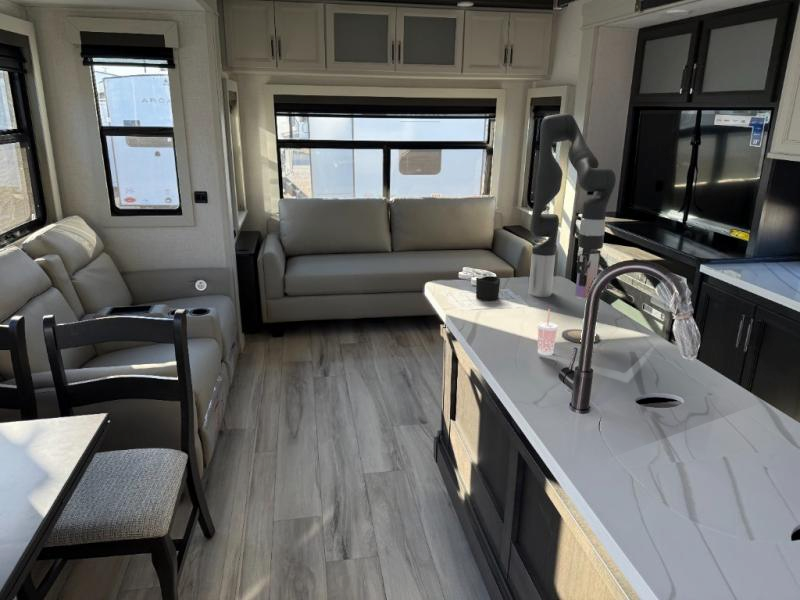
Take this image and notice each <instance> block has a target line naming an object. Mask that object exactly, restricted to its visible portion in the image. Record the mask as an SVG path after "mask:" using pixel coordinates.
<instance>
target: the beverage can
mask: <svg viewBox="0 0 800 600" xmlns="http://www.w3.org/2000/svg"><path fill="white" fill-rule="evenodd" d="M582 252H583V250H582V251H580V253H579V255H582ZM598 254H599V253H598V252H596V253H593V254H590V257H589V261H588V262H587V261H586V265H588V264H589V262H590V261H591V268H590V269H588V274H587V282H586V286H579V277H580V274H579V273H576V274H577V275H576V284H575V295H574V296H575V297H576V298H577V299H579V300H585V301H587V300H586V299H587V292H588V290H589V287H590V285H591V283H592V281H593V280H594V278H595V277H596V276H598V269H599V265H598V261H599V262H600V258H599V255H598ZM582 270H583V268H582Z"/></svg>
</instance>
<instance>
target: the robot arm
mask: <svg viewBox="0 0 800 600" xmlns="http://www.w3.org/2000/svg"><path fill="white" fill-rule="evenodd" d="M539 134H540V135H539V137H540V138H539V157H538V158H539V159H538V167H537V172H536V180H535V190H534V203H533V207H532V212H531V213H532V214H531V219H530V224H529V225H530V226H529V231H530V232H529V233H530V234H531V236H533V237H539V238H547V239H546V240H545V241H544V242H541V243H538V244H535V245H533V246H532V248H531V249H532V250H531V257H530V258H531V259H530V271H529V272H530V273H529V284H528V294H529V295H531V296H532V297H538V298H547V297H551V296H552V293H553V292H552V291H553V282H554V273H555V272H554V271H555V270H554V269H555V262H556V261H555V260H556V250H557V241H558V240H557V239H558V232H559V226H560V225H559V224H560V218H559V215H557V214H555V213H543V212H544V210H545V208H546V207H547V206H548V204H549V203H550V202H551V201H553V200H554V198H556V196H557V195H558V194H559V193H560V191H561V187H562V183H563V175H564V174H563V170H562V167H561V166H560V164H559V162H558V161H557V159H556V158H555V156H554V154H553V144H554V143H560V142H565V141H569V142H570V147H569V150H568V160H569V163H570V164H571V165H572V167H573V168H574V170H575V171H576V172H577V178H578V182H579V183H578V184H579V186H580V187H581V189H582V190H583V191H585V192H591V193H592V192H596V193H595V195H594V197H591V198H588V199H585V200H584V202H583V204H582V212H581V213H582V214H581V220H580V224H579V231H578V232H579V233H578V241H577V242H578V244H577V246H578V247H579V248H581V249H582V251H583V252H582V255H580V254H578V255H577V262H576V274H578V273H579V274H580V277H579V286H586V282H587V274H588V269H590V268H591V261H590V262H589V264H588V265H586V261H587V262H588V261H589V257H590V254H593V253H596V252H598V253H599V254H598V255H599V259H601V258H600V257H601V249H602V248H604V247H603V246H604V238H605V231H606V230H605V229H606V214H607V208H608V207H607V206H608V204H609V201H610V200H611V199H610V198H611V196H612V194H613V191H614V189H615V186H616V183H617V182H616V181H617V179H616V173H615V171H614V170H613V169H612V168H608V167H605V168H603V167H602V168H600V167H599V165H600V164H599V161H598V158H597V157H596V156H595V154H594V152H592V150H591V149H590V148H589V146H588V145H587V143H586V140H585V138H584V137H583V134H582V132H581V129H580V128H579V125H578V123H577V120H576V119H575V117H574V116H573V115H572V114H571V113H565V112H564V113H557V114H552V115H551V114H550V115H546V116H544V117H543V119H542V121H541V124H540V133H539ZM599 263H600V260H599V261H598V266H600V265H599ZM582 268H583V270H582Z"/></svg>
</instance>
